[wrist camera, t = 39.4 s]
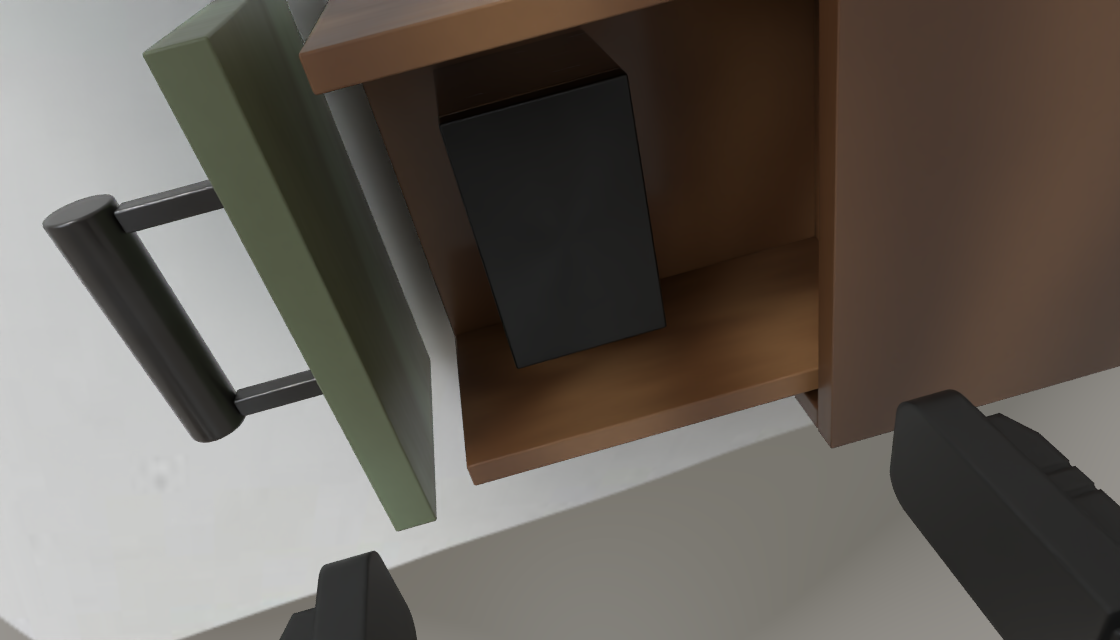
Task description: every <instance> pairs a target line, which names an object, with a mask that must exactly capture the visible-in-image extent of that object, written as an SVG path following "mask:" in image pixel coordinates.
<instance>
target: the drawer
mask: <svg viewBox="0 0 1120 640" xmlns="http://www.w3.org/2000/svg"><path fill="white" fill-rule="evenodd" d="M581 29H582V30H584V31H585V32H586V33H587V34H588V35H589V36H590V37H591V38H592V39H593V40H594V41H595V42H596V43H597V44H598V45H599V46H600V47H601V48H602V49H603V50H604V51H605V52H606V53H607V54H608V55H609V56H610V57H611V58H612V59H613V60H614V61H615V62H616V63H617V64H618V65H619V66H620V67H621V69H623V70H624V71H625V72H626V73H627V75H628V80H629V86H630V92H631V99H632V105H633V112H634V118H635V124H636V131H637V137H638V144H639V150H640V156H641V163H642V169H643V176H644V182H645V188H646V195H647V201H648V208H649V214H650V220H651V227H652V233H653V240H654V246H655V252H656V259H657V265H658V272H659V278H660V284H661V291H662V297H663V304H664V310H665V316H666V323H667V326H666V327H665V328H662V329H658V330H655V331H651V332H647V333H644V334H640V335H637V336H633V337H630V338H626V339H623V340H619V341H616V342H612V343H609V344H605V345H602V346H598V347H595V348H591V349H587V350H584V351H580V352H577V353H573V354H570V355H566V356H563V357H559V358H556V359H552V360H549V361H545V362H542V363H538V364H535V365H531V366H527V367H524V368H520V369H517V367H516V365H515V362H514V359H513V356H512V353H511V350H510V347H509V344H508V340H507V337H506V334H505V331H504V328H503V325H502V322H501V319H500V316H499V313H498V309H497V306H496V303H495V300H494V297H493V294H492V291H491V288H490V285H489V281H488V278H487V275H486V272H485V269H484V266H483V263H482V260H481V257H480V254H479V250H478V247H477V244H476V241H475V238H474V235H473V232H472V229H471V226H470V222H469V219H468V216H467V213H466V210H465V207H464V204H463V201H462V198H461V195H460V191H459V188H458V185H457V182H456V179H455V176H454V173H453V170H452V167H451V163H450V160H449V157H448V154H447V151H446V148H445V145H444V142H443V139H442V136H441V132H440V129H439V124H438V115H437V106H436V96H435V87H434V77H433V70H434V69H437V68H441V67H445V66H448V65H452V64H456V63H459V62H463V61H467V60H470V59H474V58H478V57H482V56H485V55H489V54H493V53H496V52H500V51H504V50H507V49H511V48H515V47H518V46H522V45H526V44H529V43H533V42H537V41H541V40H544V39H548V38H552V37H555V36H559V35H563V34H566V33H570V32H574V31H577V30H581ZM143 57H144V59H145V61H146V63H147V64H148V66H149V68H150V70H151V72H152V74H153V76H154V78H155V79H156V81H157V83H158V85H159V87H160V89H161V91H162V93H163V94H164V96H165V98H166V100H167V102H168V104H169V106H170V108H171V109H172V111H173V113H174V115H175V117H176V119H177V121H178V123H179V124H180V126H181V128H182V130H183V132H184V134H185V136H186V138H187V139H188V141H189V143H190V145H191V147H192V149H193V151H194V153H195V154H196V156H197V158H198V160H199V162H200V164H201V166H202V168H203V169H204V171H205V173H206V175H207V177H208V179H209V180H206V181H202V182H199V183H195V184H191V185H188V186H184V187H180V188H176V189H173V190H169V191H165V192H161V193H158V194H154V195H150V196H146V197H143V198H139V199H135V200H132V201H128V202H124V203H122V204H120V206H119V204H118V203H117V201H116V200H115V198H114V197H113V196H111V195H108V194H103V195H95V196H91V197H87V198H84V199H81V200H78V201H75V202H73V203H70V204H68V205H66V206H64V207H62V208H60V209H58V210H56V211H55V212H53V213H52V214H50V215H49V216H48V217H47V218H46V219H45V220H44V221H43V223H42V224H43V228H44V229H45V231H46V232H47V234H48V235H49V236H50V238H51V239H52V241H53V242H54V244H55V245H56V246H57V248H58V249H59V251H60V252H61V253H62V255H63V256H64V258H65V259H66V260H67V262H68V263H69V265H70V266H71V268H72V269H73V270H74V272H75V273H76V275H77V276H78V277H79V279H80V280H81V282H82V283H83V284H84V286H85V287H86V289H87V290H88V292H89V293H90V294H91V296H92V297H93V299H94V300H95V301H96V303H97V304H98V306H99V307H100V308H101V310H102V311H103V313H104V314H105V316H106V317H107V318H108V320H109V321H110V323H111V324H112V325H113V327H114V328H115V330H116V331H117V332H118V334H119V335H120V337H121V338H122V340H123V341H124V342H125V344H126V345H127V347H128V348H129V349H130V351H131V352H132V354H133V355H134V356H135V358H136V359H137V361H138V362H139V364H140V365H141V366H142V368H143V369H144V371H145V372H146V373H147V375H148V376H149V378H150V379H151V380H152V382H153V383H154V385H155V386H156V388H157V389H158V390H159V392H160V393H161V395H162V396H163V397H164V399H165V400H166V402H167V403H168V404H169V406H170V407H171V409H172V410H173V412H174V413H175V414H176V416H177V417H178V419H179V420H180V421H181V423H182V424H183V426H184V427H185V428H186V430H187V431H188V433H189V434H190V436H191V437H192V438H193V439H194V440H196V441H198V442H202V443H206V442H212V441H216V440H219V439H221V438H223V437H225V436H227V435H229V434H230V433H232V432H233V431H234V430H235V429H237V428H238V427H239V426H240V425H241V423H242V422H243V421H244V419H245V417H246V416H247V415H250V414H254V413H257V412H261V411H265V410H268V409H272V408H275V407H279V406H283V405H286V404H290V403H293V402H297V401H301V400H304V399H308V398H311V397H315V396H319V395H322V394H323V395H324V396H325V398H326V400H327V402H328V404H329V406H330V408H331V410H332V411H333V413H334V415H335V417H336V419H337V421H338V423H339V425H340V426H341V428H342V430H343V432H344V434H345V436H346V438H347V440H348V441H349V443H350V445H351V447H352V449H353V451H354V453H355V455H356V456H357V458H358V460H359V462H360V464H361V466H362V468H363V470H364V471H365V473H366V475H367V477H368V479H369V481H370V483H371V485H372V486H373V488H374V490H375V492H376V494H377V496H378V498H379V500H380V501H381V503H382V505H383V507H384V509H385V511H386V513H387V515H388V516H389V518H390V520H391V522H392V524H393V526H394V528H395V530H396V531H401V530H405V529H408V528H412V527H415V526H419V525H422V524H426V523H429V522H433V521H436V519H437V515H436V490H435V465H434V440H433V415H432V390H431V365H430V358H429V355H428V353H427V350H426V348H425V345H424V343H423V340H422V338H421V335H420V333H419V330H418V328H417V325H416V323H415V320H414V318H413V315H412V313H411V310H410V308H409V305H408V303H407V300H406V298H405V295H404V293H403V290H402V288H401V285H400V283H399V280H398V278H397V275H396V273H395V270H394V268H393V266H392V263H391V261H390V258H389V256H388V253H387V251H386V248H385V246H384V243H383V241H382V238H381V236H380V233H379V231H378V228H377V226H376V223H375V221H374V218H373V216H372V213H371V211H370V208H369V206H368V203H367V201H366V198H365V196H364V193H363V191H362V188H361V186H360V183H359V181H358V178H357V176H356V174H355V171H354V169H353V166H352V164H351V161H350V159H349V156H348V154H347V151H346V149H345V146H344V144H343V141H342V139H341V136H340V134H339V131H338V129H337V126H336V124H335V121H334V119H333V116H332V114H331V111H330V109H329V106H328V104H327V101H326V99H325V96H324V94H323V93H327V92H331V91H335V90H339V89H342V88H346V87H350V86H354V85H357V84H361V83H362V85H363V88H364V90H365V93H366V96H367V99H368V101H369V104H370V107H371V109H372V112H373V115H374V118H375V120H376V123H377V126H378V128H379V131H380V134H381V137H382V139H383V142H384V145H385V148H386V150H387V153H388V156H389V158H390V161H391V164H392V167H393V169H394V172H395V175H396V177H397V180H398V183H399V186H400V188H401V191H402V194H403V196H404V199H405V202H406V205H407V207H408V210H409V213H410V216H411V218H412V221H413V224H414V226H415V229H416V232H417V235H418V237H419V240H420V243H421V245H422V248H423V251H424V254H425V256H426V259H427V262H428V264H429V267H430V270H431V273H432V275H433V278H434V281H435V284H436V286H437V289H438V292H439V294H440V297H441V300H442V303H443V305H444V308H445V311H446V313H447V316H448V319H449V322H450V324H451V327H452V330H453V332H454V335H455V344H456V354H457V365H458V376H459V387H460V397H461V408H462V419H463V430H464V440H465V451H466V462H467V469H468V471H469V474H470V476H471V478H472V481H473V483H474V485H479V484H483V483H487V482H490V481H494V480H497V479H501V478H504V477H508V476H511V475H515V474H518V473H522V472H525V471H529V470H532V469H536V468H539V467H543V466H546V465H550V464H554V463H557V462H561V461H564V460H568V459H571V458H575V457H578V456H582V455H585V454H589V453H592V452H596V451H599V450H603V449H606V448H610V447H614V446H617V445H621V444H624V443H628V442H631V441H635V440H638V439H642V438H645V437H649V436H652V435H656V434H659V433H663V432H666V431H670V430H673V429H677V428H681V427H684V426H688V425H691V424H695V423H698V422H702V421H705V420H709V419H712V418H716V417H719V416H723V415H726V414H730V413H733V412H737V411H741V410H744V409H748V408H751V407H755V406H758V405H762V404H765V403H769V402H772V401H776V400H779V399H783V398H786V397H790V396H793V395H797V394H800V393H804V392H808V391H811V390H815V389H818V327H819V0H329V1H328V3H327V5H326V7H325V8H324V10H323V12H322V14H321V15H320V17H319V19H318V21H317V23H316V24H315V26H314V28H313V30H312V31H311V33H310V35H309V37H308V39H307V40H306V42H305V44H303V42H302V39H301V37H300V34H299V32H298V29H297V27H296V24H295V22H294V19H293V17H292V14H291V12H290V9H289V7H288V4H287V2H286V0H214V1H213V2H211V3H210V4H209V5H207V6H206V7H204V8H203V9H202V10H200V11H199V12H198V13H196V14H195V15H194V16H192V17H191V18H190V19H188V20H187V21H185V22H184V23H183V24H181V25H180V26H179V27H177V28H176V29H175V30H173V31H172V32H170V33H169V34H168V35H166V36H165V37H164V38H162V39H161V40H160V41H158V42H157V43H156V44H154V45H153V46H151V47H150V48H149V49H147V50H146V51H145V52H144V53H143ZM221 208H224V209H225V211H226V213H227V214H228V216H229V218H230V220H231V222H232V224H233V226H234V228H235V229H236V231H237V233H238V235H239V237H240V239H241V241H242V243H243V244H244V246H245V248H246V250H247V252H248V254H249V256H250V258H251V259H252V261H253V263H254V265H255V267H256V269H257V271H258V273H259V274H260V276H261V278H262V280H263V282H264V284H265V286H266V288H267V289H268V291H269V293H270V295H271V297H272V299H273V301H274V303H275V304H276V306H277V308H278V310H279V312H280V314H281V316H282V318H283V320H284V321H285V323H286V325H287V327H288V329H289V331H290V333H291V335H292V336H293V338H294V340H295V342H296V344H297V346H298V348H299V350H300V351H301V353H302V355H303V357H304V359H305V361H306V363H307V365H308V366H309V368H310V370H308V371H304V372H300V373H297V374H293V375H289V376H286V377H282V378H279V379H275V380H271V381H268V382H264V383H261V384H257V385H253V386H250V387H246V388H242V389H239V390H237V392H236V391H235V390H234V388H233V386H232V385H231V383H230V382H229V380H228V378H227V377H226V375H225V374H224V372H223V370H222V369H221V367H220V366H219V364H218V362H217V361H216V359H215V358H214V356H213V354H212V353H211V351H210V350H209V348H208V346H207V345H206V343H205V342H204V340H203V338H202V337H201V335H200V334H199V332H198V330H197V329H196V327H195V326H194V324H193V323H192V321H191V319H190V318H189V316H188V315H187V313H186V311H185V310H184V308H183V307H182V305H181V303H180V302H179V300H178V299H177V297H176V295H175V294H174V292H173V291H172V289H171V287H170V286H169V284H168V283H167V281H166V279H165V278H164V276H163V275H162V273H161V271H160V270H159V268H158V267H157V265H156V263H155V262H154V260H153V259H152V257H151V255H150V254H149V252H148V251H147V249H146V247H145V246H144V244H143V243H142V241H141V239H140V238H139V236H138V235H137V233H136V231H140V230H143V229H147V228H151V227H155V226H158V225H162V224H166V223H169V222H173V221H177V220H181V219H184V218H188V217H192V216H195V215H199V214H203V213H207V212H210V211H214V210H218V209H221Z"/></svg>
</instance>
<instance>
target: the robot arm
mask: <svg viewBox="0 0 1120 640" xmlns="http://www.w3.org/2000/svg"><path fill="white" fill-rule="evenodd" d="M890 477H891V482H892V486H893V489H894V492H895V494H896V497H897V499H898V501H899V503H900V504H901V506H902V507H903V509H904V511H905V512H906V513H907V515H908V516H909V517H910V518H911V520H912V521H913V522H914V524H915V525H916V526H917V528H918V529H919V530H920V531H921V533H922V534H923V535H924V537H925V538H926V539H927V540H928V542H929V543H930V544H931V546H932V547H933V548H934V550H935V551H936V552H937V553H938V555H939V556H940V558H941V559H942V560H943V561H944V562H945V564H946V565H947V567H948V568H949V569H950V570H951V572H952V573H953V574H954V576H955V577H956V578H957V579H958V581H959V582H960V583H961V585H962V586H963V587H964V589H965V590H966V591H967V593H968V594H969V595H970V597H971V598H972V599H973V600H974V602H975V603H976V604H977V606H978V607H979V608H980V610H981V611H982V612H983V613H984V615H985V616H986V617H987V618H988V620H989V621H990V623H991V624H992V625H993V626H994V628H995V629H996V630H997V632H998V633H999V634H1000V635H1001V637H1002V638H1003V639H1004V640H1120V506H1119V505H1118V504H1117V503H1116V502H1115V501H1113V500H1112V499H1111V498H1110V497H1109V496H1108V495H1107V494H1106V493H1104V492H1103V491H1102V490H1101V489H1100V490H1097V489H1096V488H1095V486H1094V482H1092V481H1091V480H1090V479H1089V478H1088V477H1087V476H1086V475H1085V474H1084V473H1083V472H1081V471H1080V470H1079V469H1078V468H1077V467H1076V466H1073V467H1072V466H1071V465H1070V463H1069V460H1068V459H1067V458H1066V457H1065V456H1064V455H1062V454H1061V453H1060V452H1059V451H1058V450H1057V449H1056V448H1055V447H1054V446H1053V445H1052V444H1050V443H1049V442H1048V441H1047V440H1046V439H1045V438H1044V437H1043V436H1042V435H1041V434H1039V433H1038V432H1036V431H1034V430H1032V429H1030V428H1028V427H1026V426H1024V425H1022V424H1020V423H1018V422H1016V421H1014V420H1012V419H1010V418H1008V417H1006V416H1004V415H1002V414H1000V413H998V414H994V415H991V416H987V417H986V416H985V415H984V414H982V413H981V412H980V411H979V410H978V409H977V408H976V407H975V406H974V405H973V404H972V403H971V402H970V401H969V400H968V399H967V398H966V397H965V396H964V395H962V394H961V393H959V392H958V391H956V390H953V389H947V390H944V391H940V392H937V393H933V394H930V395H926V396H923V397H919V398H915V399H912V400H908V401H905V402H902V403H900V404H899V406H898V407H897V411H896V418H895V427H894V437H893V446H892V455H891V465H890ZM315 606H316V607H315V608H312V609H308V610H305V611H301V612H298V613H294V614H293V615H292V617H291V619H290V620H289V622H288V624H287V626H286V628H285V630H284V632H283V634H282V636H281V638H280V640H417V637H416V631H415V626H414V622H413V618H412V615H411V613H410V610H409V608H408V606H407V604H406V602H405V600H404V598H403V597H402V595H401V593H400V591H399V589H398V588H397V586H396V584H395V582H394V580H393V579H392V577H391V575H390V573H389V571H388V569H387V568H386V566H385V564H384V562H383V560H382V559H381V557H380V555H379V554H378V553H377V552H376V551H371V552H368V553H364V554H361V555H357V556H354V557H350V558H347V559H343V560H340V561H336V562H333V563H329V564H326V565H324V566H323V567H322V568H321V570H320V574H319V579H318V587H317V596H316V605H315Z"/></svg>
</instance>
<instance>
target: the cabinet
mask: <svg viewBox="0 0 1120 640" xmlns="http://www.w3.org/2000/svg"><path fill="white" fill-rule="evenodd" d="M1118 366H1120V0H819V327H818V389H815V390H811V391H808V392H804V393H800V394H797V395H794V396H795V398H796V399H797V401H798V402H799V403H800V405H801V406H802V408H803V409H804V410H805V412H806V413H807V415H808V416H809V417H810V419H811V420H812V422H813V423H814V424H815V426H816V427H817V428H818V430H819V432H820V434H821V435H822V436H823V438H824V439H825V441H826V442H827V443H828V445H829V446H830V447H831V448H835V447H839V446H842V445H846V444H849V443H853V442H856V441H860V440H863V439H866V438H870V437H874V436H877V435H881V434H884V433H887V432H891V431H894V427H895V418H896V411H897V407H898V406H899V404H900V403H902V402H905V401H908V400H912V399H915V398H919V397H923V396H926V395H930V394H933V393H937V392H940V391H944V390H947V389H953V390H956V391H958V392H959V393H961V394H962V395H964V396H965V397H966V398H967V399H968V400H969V401H970V402H971V403H972V404H973V405H974V406H975V407H978V406H982V405H986V404H989V403H993V402H996V401H1000V400H1003V399H1007V398H1010V397H1013V396H1017V395H1020V394H1024V393H1027V392H1031V391H1034V390H1038V389H1041V388H1045V387H1048V386H1052V385H1055V384H1059V383H1062V382H1066V381H1069V380H1073V379H1076V378H1080V377H1083V376H1087V375H1090V374H1094V373H1097V372H1101V371H1104V370H1108V369H1111V368H1115V367H1118Z"/></svg>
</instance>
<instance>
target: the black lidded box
mask: <svg viewBox="0 0 1120 640" xmlns="http://www.w3.org/2000/svg"><path fill="white" fill-rule="evenodd" d="M433 77H434V87H435V96H436V106H437V115H438V124H439V129H440V132H441V136H442V139H443V142H444V145H445V148H446V151H447V154H448V157H449V160H450V163H451V167H452V170H453V173H454V176H455V179H456V182H457V185H458V188H459V191H460V195H461V198H462V201H463V204H464V207H465V210H466V213H467V216H468V219H469V222H470V226H471V229H472V232H473V235H474V238H475V241H476V244H477V247H478V250H479V254H480V257H481V260H482V263H483V266H484V269H485V272H486V275H487V278H488V281H489V285H490V288H491V291H492V294H493V297H494V300H495V303H496V306H497V309H498V313H499V316H500V319H501V322H502V325H503V328H504V331H505V334H506V337H507V340H508V344H509V347H510V350H511V353H512V356H513V359H514V362H515V365H516V367H517V369H520V368H524V367H527V366H531V365H535V364H538V363H542V362H545V361H549V360H552V359H556V358H559V357H563V356H566V355H570V354H573V353H577V352H580V351H584V350H587V349H591V348H595V347H598V346H602V345H605V344H609V343H612V342H616V341H619V340H623V339H626V338H630V337H633V336H637V335H640V334H644V333H647V332H651V331H655V330H658V329H662V328H665V327H666V326H667V323H666V316H665V310H664V304H663V297H662V291H661V284H660V278H659V272H658V265H657V259H656V252H655V246H654V240H653V233H652V227H651V220H650V214H649V208H648V201H647V195H646V188H645V182H644V176H643V169H642V163H641V156H640V150H639V144H638V137H637V131H636V124H635V118H634V112H633V105H632V99H631V92H630V86H629V80H628V75H627V73H626V72H625V71H624V70H623V69H621V67H620V66H619V65H618V64H617V63H616V62H615V61H614V60H613V59H612V58H611V57H610V56H609V55H608V54H607V53H606V52H605V51H604V50H603V49H602V48H601V47H600V46H599V45H598V44H597V43H596V42H595V41H594V40H593V39H592V38H591V37H590V36H589V35H588V34H587V33H586V32H585V31H584V30H582V29H581V30H577V31H574V32H570V33H566V34H563V35H559V36H555V37H552V38H548V39H544V40H541V41H537V42H533V43H529V44H526V45H522V46H518V47H515V48H511V49H507V50H504V51H500V52H496V53H493V54H489V55H485V56H482V57H478V58H474V59H470V60H467V61H463V62H459V63H456V64H452V65H448V66H445V67H441V68H437V69H434V70H433Z"/></svg>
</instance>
